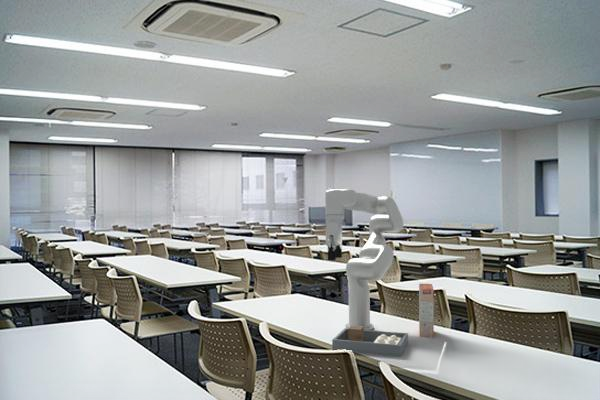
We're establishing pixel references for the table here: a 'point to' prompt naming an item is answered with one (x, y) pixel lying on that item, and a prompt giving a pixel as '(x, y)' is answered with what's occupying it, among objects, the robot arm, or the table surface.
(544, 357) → the table surface
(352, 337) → the walnut block
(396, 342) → the egg carton
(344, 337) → the tray
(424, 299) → the cracker box
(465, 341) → the table surface
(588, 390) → the table surface
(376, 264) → the robot arm
